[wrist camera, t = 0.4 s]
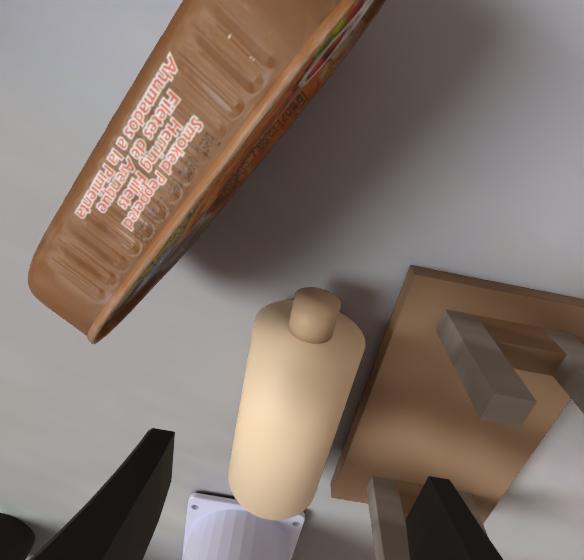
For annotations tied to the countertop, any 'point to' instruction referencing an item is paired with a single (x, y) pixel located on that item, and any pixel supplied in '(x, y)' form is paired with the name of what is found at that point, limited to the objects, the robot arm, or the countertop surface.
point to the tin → (185, 146)
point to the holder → (458, 396)
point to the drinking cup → (14, 539)
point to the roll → (292, 401)
